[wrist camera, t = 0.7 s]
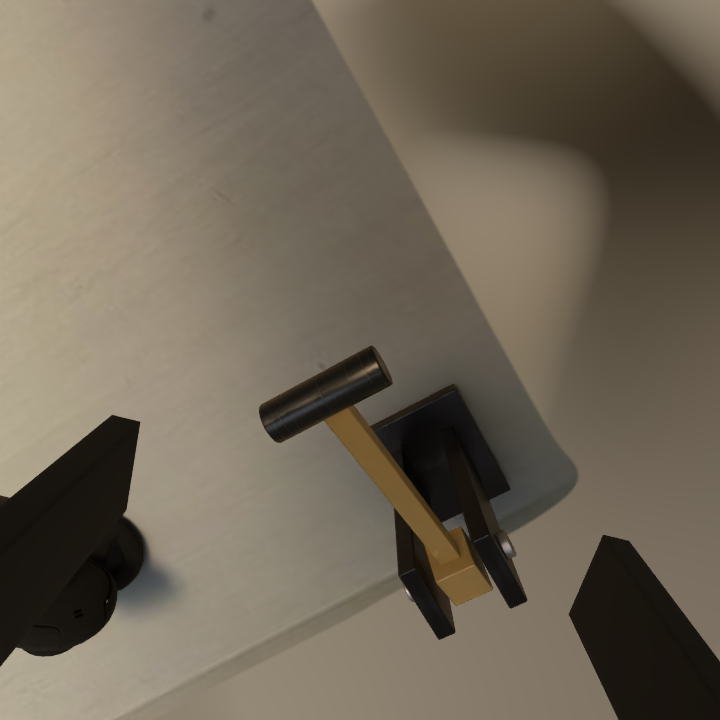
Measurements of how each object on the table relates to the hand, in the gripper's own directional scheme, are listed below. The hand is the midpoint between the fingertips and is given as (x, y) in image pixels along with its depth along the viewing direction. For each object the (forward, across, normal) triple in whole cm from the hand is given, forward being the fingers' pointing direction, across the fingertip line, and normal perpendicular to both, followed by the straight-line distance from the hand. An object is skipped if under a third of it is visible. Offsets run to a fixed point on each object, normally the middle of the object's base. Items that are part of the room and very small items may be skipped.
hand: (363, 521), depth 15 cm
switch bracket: (+25, +7, -8) cm, 27 cm away
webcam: (+25, -16, -23) cm, 38 cm away
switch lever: (+10, +3, -4) cm, 11 cm away
